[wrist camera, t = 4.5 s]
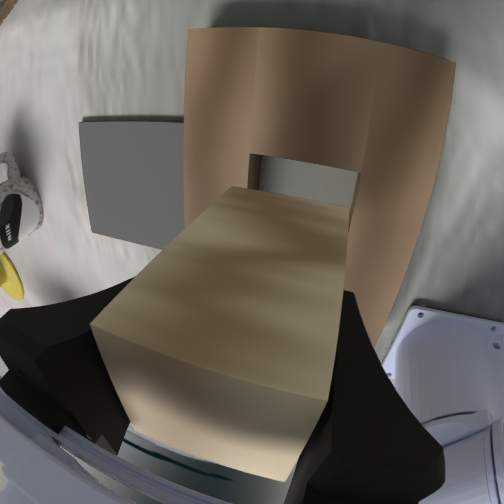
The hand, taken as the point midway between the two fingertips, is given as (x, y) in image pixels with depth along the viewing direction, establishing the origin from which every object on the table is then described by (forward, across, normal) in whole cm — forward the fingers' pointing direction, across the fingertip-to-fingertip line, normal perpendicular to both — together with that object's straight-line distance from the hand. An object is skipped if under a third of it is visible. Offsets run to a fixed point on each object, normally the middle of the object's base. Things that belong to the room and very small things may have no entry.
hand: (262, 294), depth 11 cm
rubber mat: (+10, +13, +1) cm, 16 cm away
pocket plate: (+10, 0, 0) cm, 10 cm away
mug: (+10, +29, +3) cm, 31 cm away
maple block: (+3, 0, 0) cm, 3 cm away
